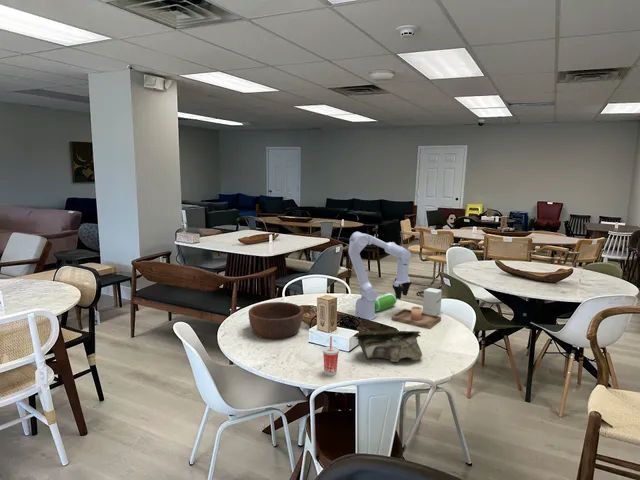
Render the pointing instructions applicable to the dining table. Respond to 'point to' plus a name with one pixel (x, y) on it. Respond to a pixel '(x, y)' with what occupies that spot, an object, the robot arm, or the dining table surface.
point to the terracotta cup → (416, 313)
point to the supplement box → (432, 301)
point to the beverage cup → (330, 359)
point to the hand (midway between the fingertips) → (401, 297)
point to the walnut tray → (425, 322)
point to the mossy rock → (390, 344)
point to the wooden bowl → (275, 319)
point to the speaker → (384, 301)
